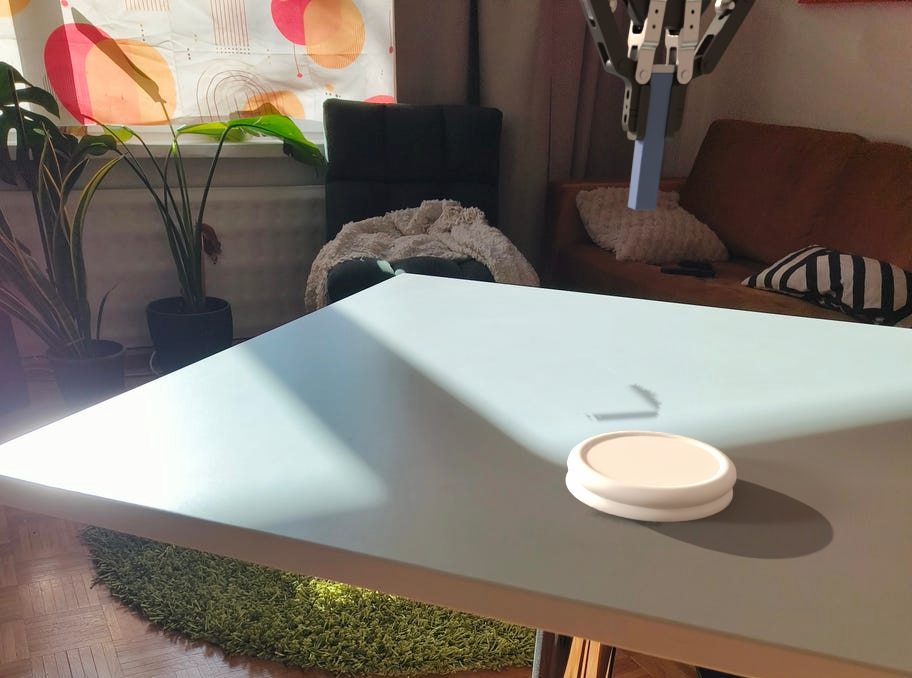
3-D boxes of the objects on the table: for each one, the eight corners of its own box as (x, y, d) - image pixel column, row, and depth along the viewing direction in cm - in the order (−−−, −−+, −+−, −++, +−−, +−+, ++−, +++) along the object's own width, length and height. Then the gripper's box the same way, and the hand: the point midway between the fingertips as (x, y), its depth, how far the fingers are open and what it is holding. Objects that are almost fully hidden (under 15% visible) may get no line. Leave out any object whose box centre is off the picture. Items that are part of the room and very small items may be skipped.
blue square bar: (647, 206, 74) (665, 64, 69) (655, 210, 73) (674, 64, 67) (627, 207, 74) (643, 64, 69) (635, 210, 73) (652, 64, 67)
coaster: (530, 502, 56) (534, 449, 54) (640, 466, 61) (647, 417, 59) (649, 564, 50) (658, 506, 48) (761, 519, 55) (773, 465, 53)
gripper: (608, -163, 57) (581, 144, 67) (806, -155, 59) (752, 143, 69) (573, -143, 63) (553, 136, 73) (753, -136, 65) (711, 135, 75)
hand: (650, 138), depth 71 cm, fingers closed on blue square bar, 2 cm apart
